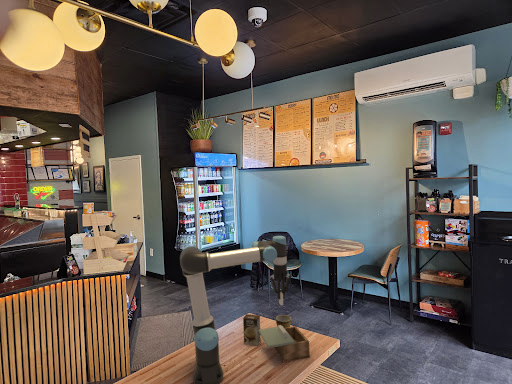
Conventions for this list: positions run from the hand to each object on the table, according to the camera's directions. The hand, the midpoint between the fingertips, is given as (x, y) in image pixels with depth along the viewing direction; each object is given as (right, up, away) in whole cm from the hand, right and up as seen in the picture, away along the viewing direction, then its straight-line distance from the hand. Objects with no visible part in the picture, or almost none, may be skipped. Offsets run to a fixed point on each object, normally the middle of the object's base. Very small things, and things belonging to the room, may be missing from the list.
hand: (281, 304), depth 187 cm
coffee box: (-17, -28, +13) cm, 35 cm away
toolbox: (+5, -27, +2) cm, 28 cm away
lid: (-3, -19, 0) cm, 19 cm away
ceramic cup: (+3, -27, +25) cm, 37 cm away
